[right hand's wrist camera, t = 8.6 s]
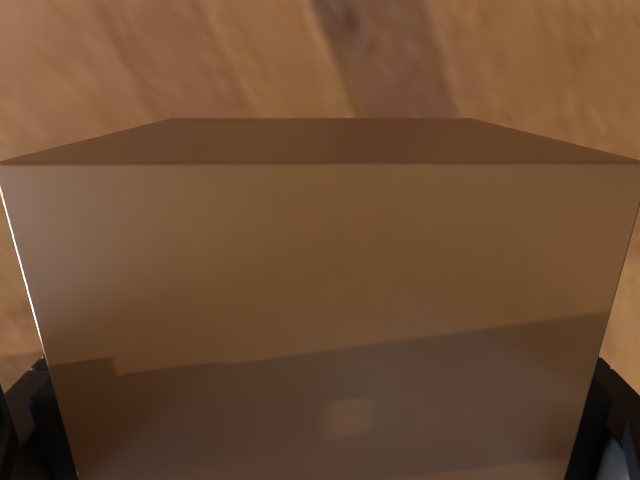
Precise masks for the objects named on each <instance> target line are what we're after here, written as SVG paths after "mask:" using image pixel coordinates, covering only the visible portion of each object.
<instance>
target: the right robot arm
mask: <svg viewBox="0 0 640 480" xmlns="http://www.w3.org/2000/svg"><path fill="white" fill-rule="evenodd" d="M0 480H78V476H77V472H76V469H75V465H74V461H73V458H72V454H71V450H70V447H69V443H68V439H67V436H66V432H65V428H64V424H63V421H62V417H61V413H60V410H59V406H58V402H57V399H56V395H55V391H54V388H53V384H52V380H51V377H50V373H49V369H48V366H47V362H46V358H45V354H44V355H43V356H42V359H39V360H38V361H37V362H36V363H35V364H34V365H33V366H32V367H31V370H30V371H27V372H26V373H25V374H24V375H23V376H22V377H21V378H20V379H19V380H18V381H17V382H16V383H15V384H14V385H13V386H12V387H11V388H10V389H9V390H8V391H7V392H6V393H5V394H4V393H3V390H2V387H1V384H0ZM565 480H640V396H639V395H638V394H637V393H636V392H635V391H634V390H633V389H632V388H631V387H630V386H629V385H628V384H627V383H626V382H625V381H624V380H623V379H622V378H621V377H620V376H619V375H618V374H617V373H616V372H615V371H614V370H613V369H610V366H609V365H608V364H607V363H606V362H605V361H604V360H603V359H602V358H599V356H598V359H597V363H596V367H595V370H594V374H593V378H592V381H591V385H590V389H589V392H588V396H587V400H586V403H585V407H584V410H583V414H582V418H581V421H580V425H579V429H578V432H577V436H576V440H575V443H574V447H573V450H572V454H571V458H570V461H569V465H568V469H567V472H566V476H565Z"/></svg>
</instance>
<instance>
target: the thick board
mask: <svg viewBox="0 0 640 480" xmlns="http://www.w3.org/2000/svg"><path fill="white" fill-rule="evenodd" d="M0 192H1V196H2V200H3V203H4V207H5V211H6V214H7V218H8V222H9V226H10V229H11V233H12V237H13V240H14V244H15V248H16V251H17V255H18V259H19V262H20V266H21V270H22V273H23V277H24V281H25V284H26V288H27V292H28V296H29V299H30V303H31V307H32V310H33V314H34V318H35V321H36V325H37V329H38V332H39V336H40V340H41V343H42V347H43V351H44V354H45V358H46V362H47V366H48V369H49V373H50V377H51V380H52V384H53V388H54V391H55V395H56V399H57V402H58V406H59V410H60V413H61V417H62V421H63V424H64V428H65V432H66V436H67V439H68V443H69V447H70V450H71V454H72V458H73V461H74V465H75V469H76V472H77V476H78V480H565V476H566V472H567V469H568V465H569V461H570V458H571V454H572V450H573V447H574V443H575V440H576V436H577V432H578V429H579V425H580V421H581V418H582V414H583V410H584V407H585V403H586V400H587V396H588V392H589V389H590V385H591V381H592V378H593V374H594V370H595V367H596V363H597V359H598V356H599V352H600V349H601V345H602V341H603V338H604V334H605V330H606V327H607V323H608V319H609V316H610V312H611V308H612V305H613V301H614V298H615V294H616V290H617V287H618V283H619V279H620V276H621V272H622V268H623V265H624V261H625V258H626V254H627V250H628V247H629V243H630V239H631V236H632V232H633V228H634V225H635V221H636V217H637V214H638V210H639V207H640V160H636V159H632V158H628V157H624V156H620V155H616V154H612V153H608V152H604V151H600V150H595V149H591V148H587V147H583V146H579V145H575V144H571V143H567V142H563V141H559V140H555V139H551V138H547V137H543V136H539V135H535V134H531V133H527V132H523V131H519V130H515V129H511V128H507V127H503V126H499V125H495V124H491V123H486V122H482V121H478V120H474V119H470V118H172V119H168V120H164V121H160V122H156V123H152V124H148V125H144V126H140V127H136V128H132V129H128V130H124V131H120V132H116V133H112V134H108V135H104V136H100V137H96V138H92V139H88V140H84V141H80V142H76V143H72V144H68V145H64V146H60V147H56V148H52V149H48V150H44V151H40V152H36V153H32V154H28V155H24V156H20V157H16V158H12V159H8V160H4V161H0Z"/></svg>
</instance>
